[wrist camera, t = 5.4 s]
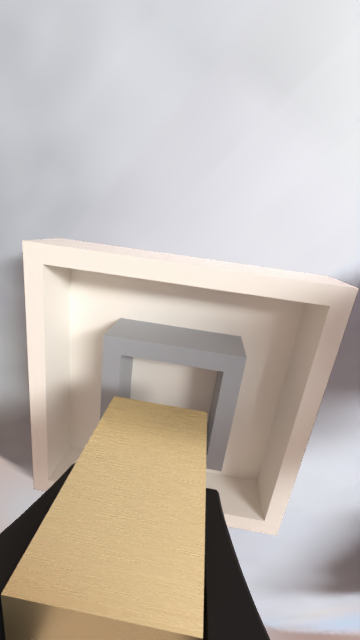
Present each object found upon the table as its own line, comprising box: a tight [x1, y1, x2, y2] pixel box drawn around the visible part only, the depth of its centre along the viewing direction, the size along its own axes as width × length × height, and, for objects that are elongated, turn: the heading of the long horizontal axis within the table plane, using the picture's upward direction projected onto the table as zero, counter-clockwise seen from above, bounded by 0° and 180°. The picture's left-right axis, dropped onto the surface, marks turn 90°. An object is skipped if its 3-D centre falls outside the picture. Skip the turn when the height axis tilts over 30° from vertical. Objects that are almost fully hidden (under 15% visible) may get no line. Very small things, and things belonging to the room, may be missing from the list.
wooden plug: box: [1, 396, 207, 640], centre depth 9 cm, size 4×4×7 cm
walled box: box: [22, 238, 359, 536], centre depth 18 cm, size 16×16×4 cm
